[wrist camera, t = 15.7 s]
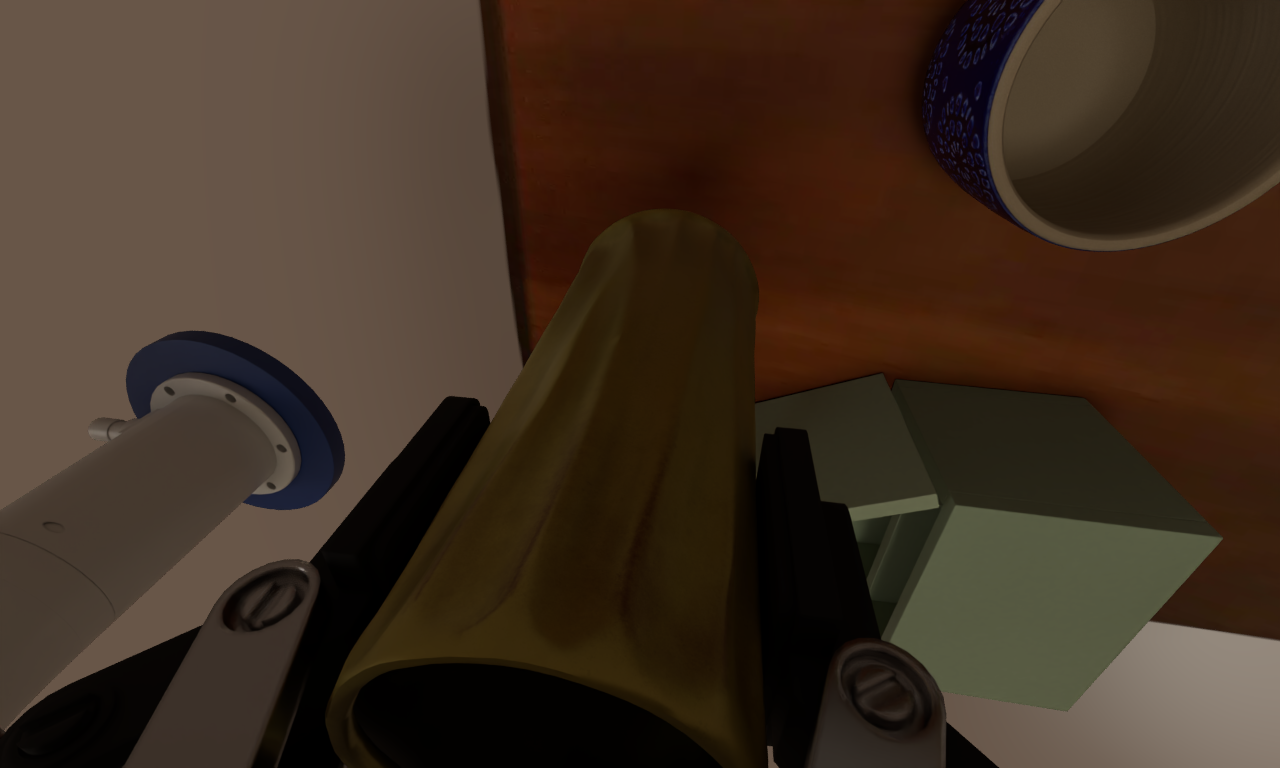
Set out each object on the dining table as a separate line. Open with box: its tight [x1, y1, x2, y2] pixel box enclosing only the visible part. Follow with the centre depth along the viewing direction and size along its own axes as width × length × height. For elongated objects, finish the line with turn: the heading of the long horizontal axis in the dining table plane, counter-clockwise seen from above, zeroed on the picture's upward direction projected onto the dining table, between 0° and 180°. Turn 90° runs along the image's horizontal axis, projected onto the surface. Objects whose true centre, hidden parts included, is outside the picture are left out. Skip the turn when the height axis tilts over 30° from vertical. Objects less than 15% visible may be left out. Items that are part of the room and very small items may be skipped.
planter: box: [922, 0, 1280, 252], centre depth 22 cm, size 11×11×11 cm
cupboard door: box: [755, 373, 939, 522], centre depth 33 cm, size 7×16×12 cm, turn 112°
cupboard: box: [852, 379, 1223, 711], centre depth 35 cm, size 12×16×12 cm
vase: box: [325, 209, 768, 768], centre depth 12 cm, size 6×6×14 cm
